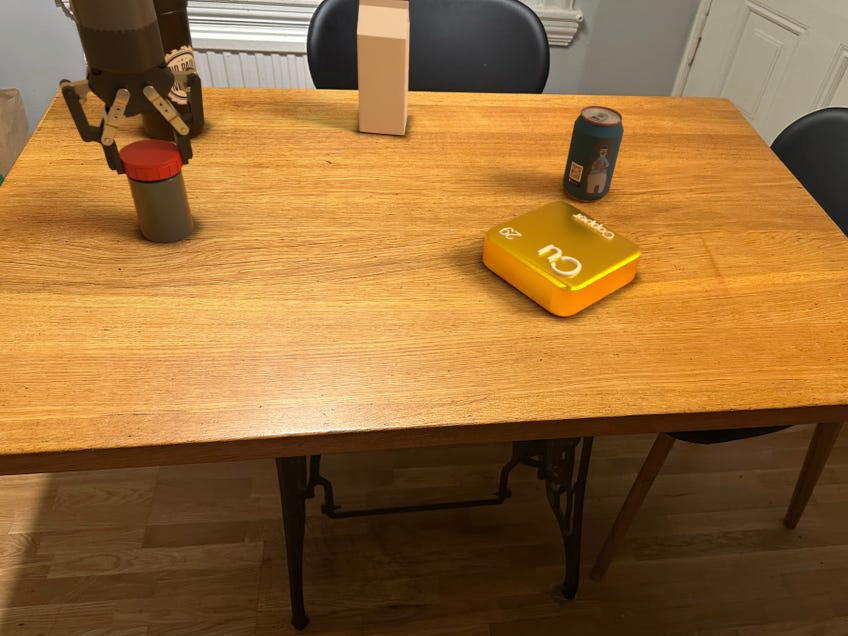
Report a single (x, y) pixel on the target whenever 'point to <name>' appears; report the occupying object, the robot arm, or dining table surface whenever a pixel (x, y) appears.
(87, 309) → the dining table surface
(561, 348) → the dining table surface
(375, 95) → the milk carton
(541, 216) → the element tile
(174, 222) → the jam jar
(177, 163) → the jar lid
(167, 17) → the water bottle
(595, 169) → the soda can
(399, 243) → the dining table surface
